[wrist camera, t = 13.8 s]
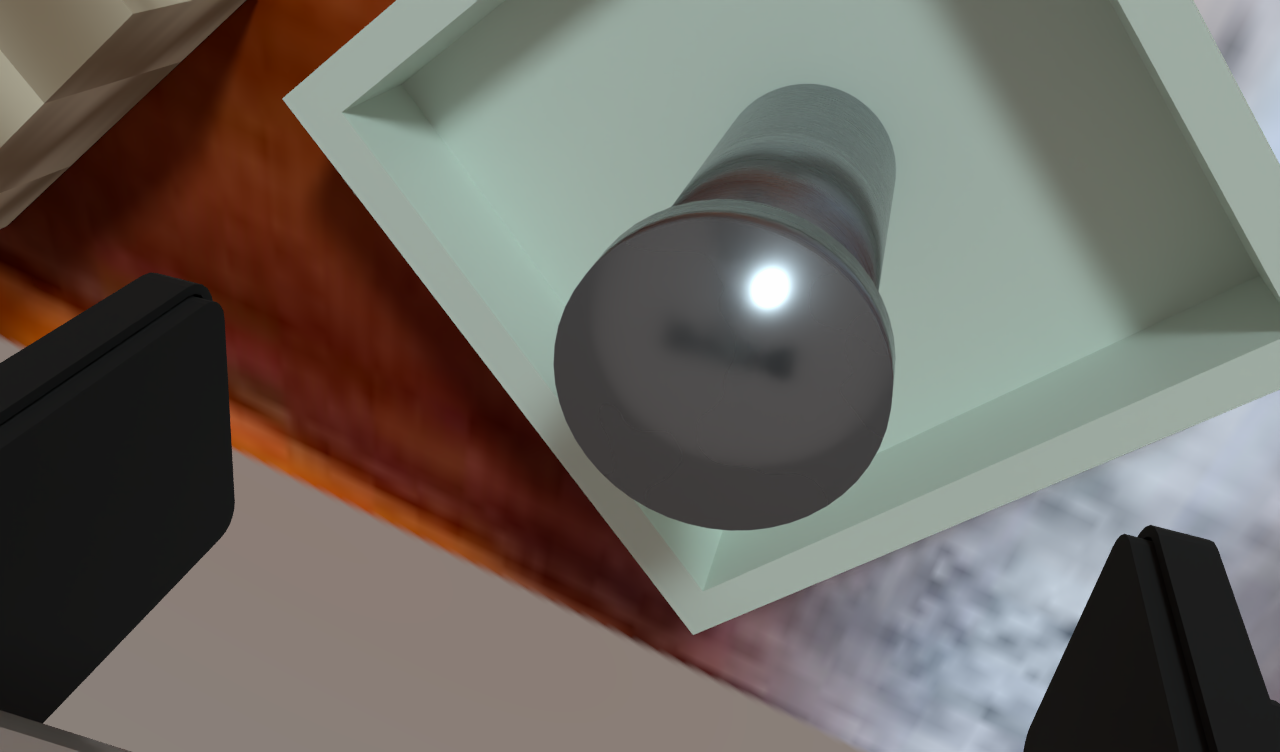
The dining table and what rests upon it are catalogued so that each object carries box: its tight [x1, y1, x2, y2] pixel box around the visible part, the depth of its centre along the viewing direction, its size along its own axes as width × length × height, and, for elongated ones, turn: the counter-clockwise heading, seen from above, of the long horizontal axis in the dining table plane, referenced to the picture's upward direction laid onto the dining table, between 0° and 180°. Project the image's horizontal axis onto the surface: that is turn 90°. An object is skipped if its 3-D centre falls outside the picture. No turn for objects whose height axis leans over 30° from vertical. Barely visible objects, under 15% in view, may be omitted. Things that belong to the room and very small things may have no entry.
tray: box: [283, 0, 1280, 635], centre depth 24 cm, size 16×16×4 cm
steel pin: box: [553, 84, 896, 531], centre depth 20 cm, size 5×5×11 cm
